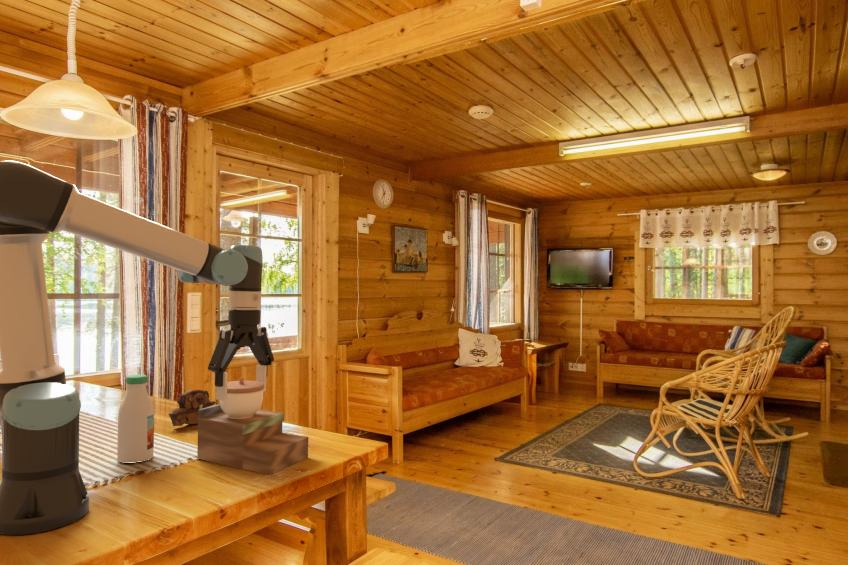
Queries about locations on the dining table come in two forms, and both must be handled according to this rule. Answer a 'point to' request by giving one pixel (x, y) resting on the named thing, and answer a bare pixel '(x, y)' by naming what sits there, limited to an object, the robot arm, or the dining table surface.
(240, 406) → the lidded jar
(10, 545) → the dining table surface
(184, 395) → the wooden carving
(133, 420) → the milk bottle
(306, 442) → the stepped stand
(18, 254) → the robot arm
